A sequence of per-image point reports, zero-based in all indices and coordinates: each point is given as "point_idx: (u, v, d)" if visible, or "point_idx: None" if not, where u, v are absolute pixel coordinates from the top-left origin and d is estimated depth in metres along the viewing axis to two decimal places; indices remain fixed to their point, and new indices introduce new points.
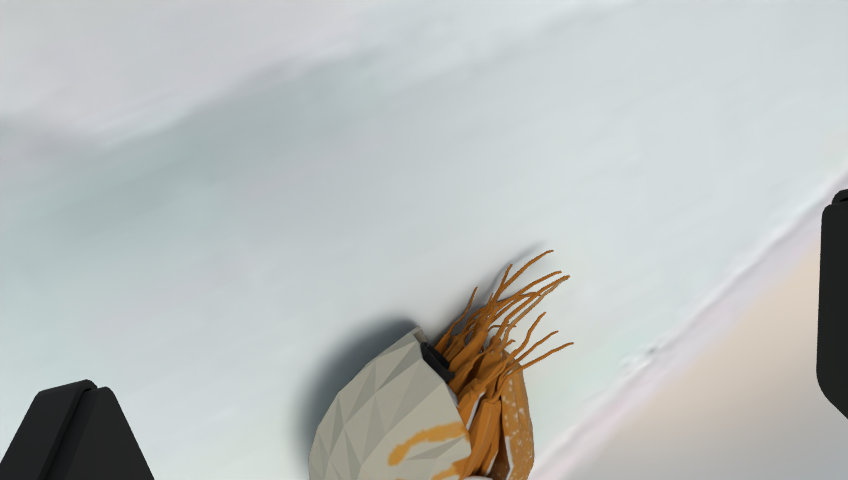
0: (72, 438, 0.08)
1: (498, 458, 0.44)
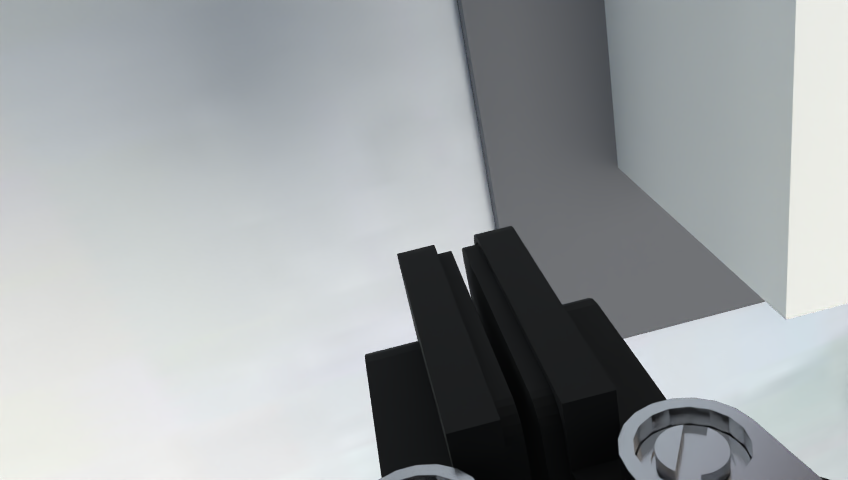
0: (455, 282, 0.09)
1: None
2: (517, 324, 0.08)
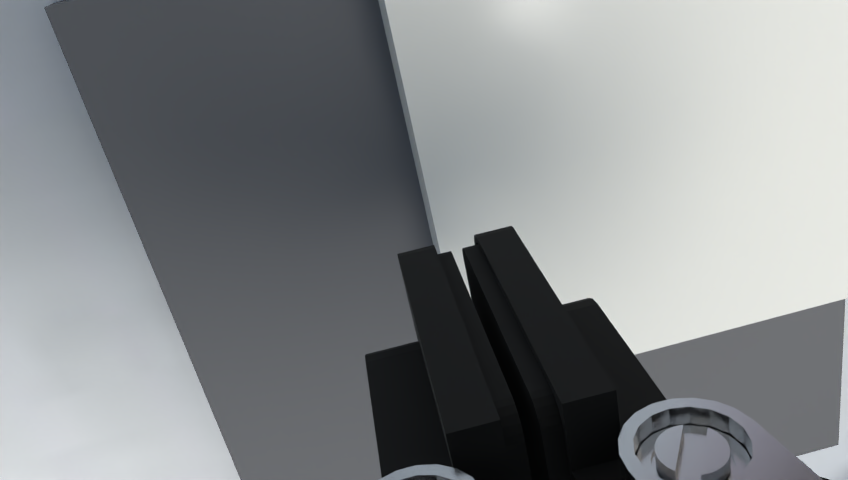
0: (455, 282, 0.09)
1: None
2: (517, 324, 0.08)
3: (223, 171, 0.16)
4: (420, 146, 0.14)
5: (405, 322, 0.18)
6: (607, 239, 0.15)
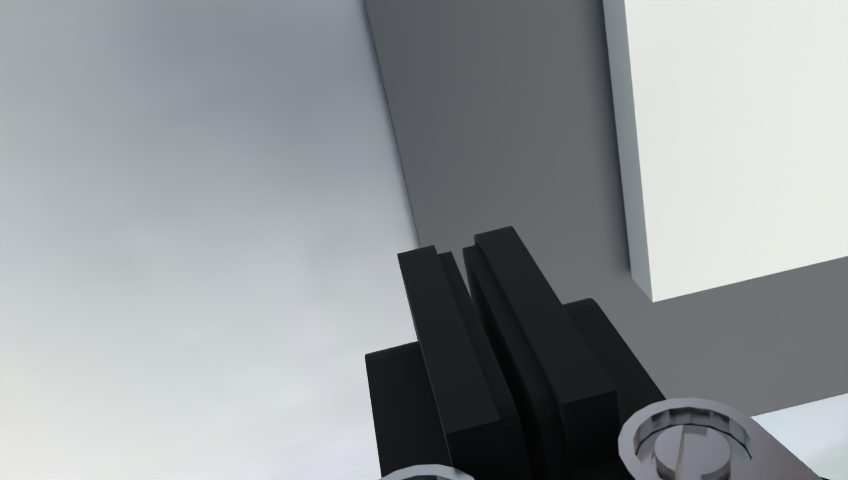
0: (455, 282, 0.09)
1: None
2: (517, 324, 0.08)
3: (471, 122, 0.21)
4: (636, 98, 0.19)
5: (591, 249, 0.23)
6: (765, 176, 0.20)
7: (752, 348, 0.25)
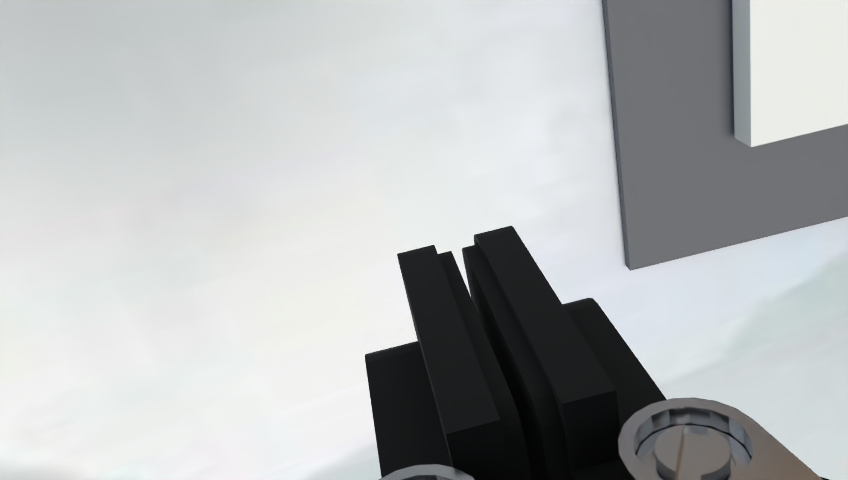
0: (455, 282, 0.09)
1: None
2: (517, 324, 0.08)
3: (652, 44, 0.37)
4: (751, 29, 0.35)
5: (711, 121, 0.39)
6: (816, 73, 0.37)
7: (799, 184, 0.42)
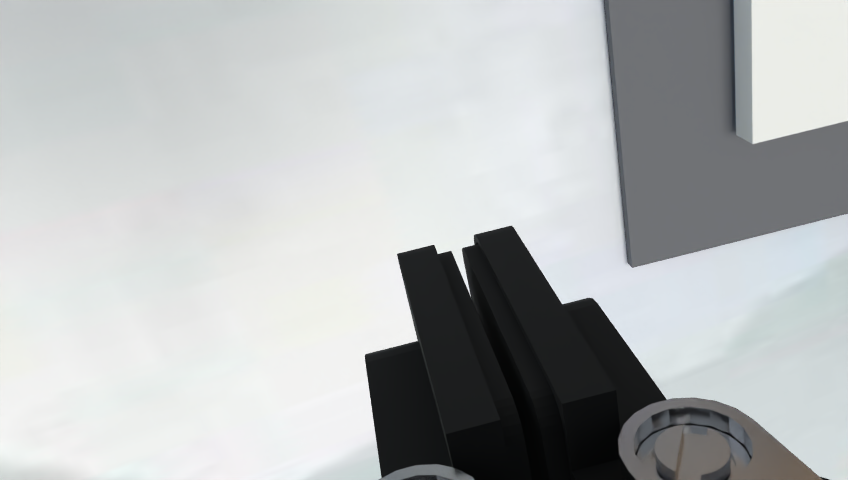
0: (455, 282, 0.09)
1: None
2: (517, 324, 0.08)
3: (654, 41, 0.37)
4: (753, 25, 0.35)
5: (713, 118, 0.39)
6: (818, 70, 0.37)
7: (800, 181, 0.42)
